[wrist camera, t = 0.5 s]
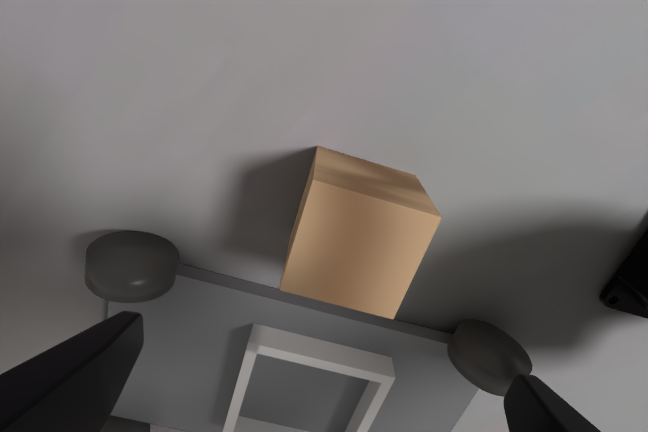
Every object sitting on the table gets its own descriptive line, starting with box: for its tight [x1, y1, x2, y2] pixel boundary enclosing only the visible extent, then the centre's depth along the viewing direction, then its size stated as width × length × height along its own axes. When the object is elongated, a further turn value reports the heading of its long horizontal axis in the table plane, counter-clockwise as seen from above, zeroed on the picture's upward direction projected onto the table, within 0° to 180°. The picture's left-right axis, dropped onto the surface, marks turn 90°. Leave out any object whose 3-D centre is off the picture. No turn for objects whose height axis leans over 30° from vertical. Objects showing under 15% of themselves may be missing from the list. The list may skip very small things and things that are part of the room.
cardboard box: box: [279, 146, 442, 319], centre depth 17 cm, size 5×5×5 cm
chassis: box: [85, 231, 532, 432], centre depth 22 cm, size 23×15×4 cm, turn 73°
